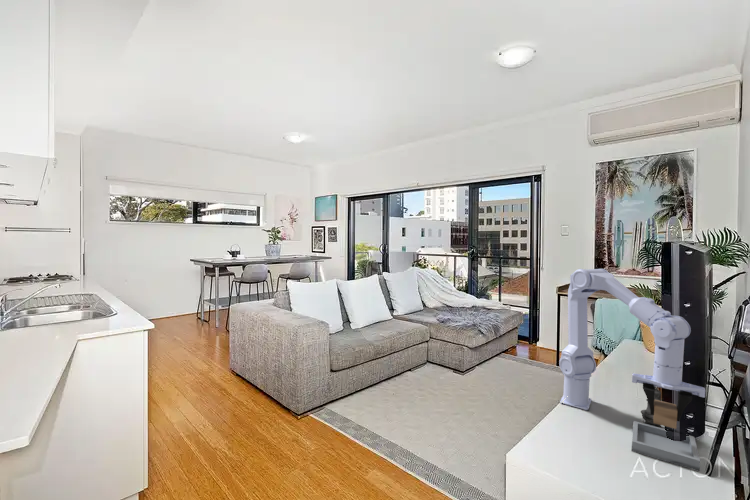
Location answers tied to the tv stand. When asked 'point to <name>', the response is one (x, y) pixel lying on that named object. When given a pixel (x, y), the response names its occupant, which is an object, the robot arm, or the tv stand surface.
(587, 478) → the tv stand surface
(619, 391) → the tv stand surface
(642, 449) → the tray
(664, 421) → the block
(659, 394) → the dark grey turned piece
